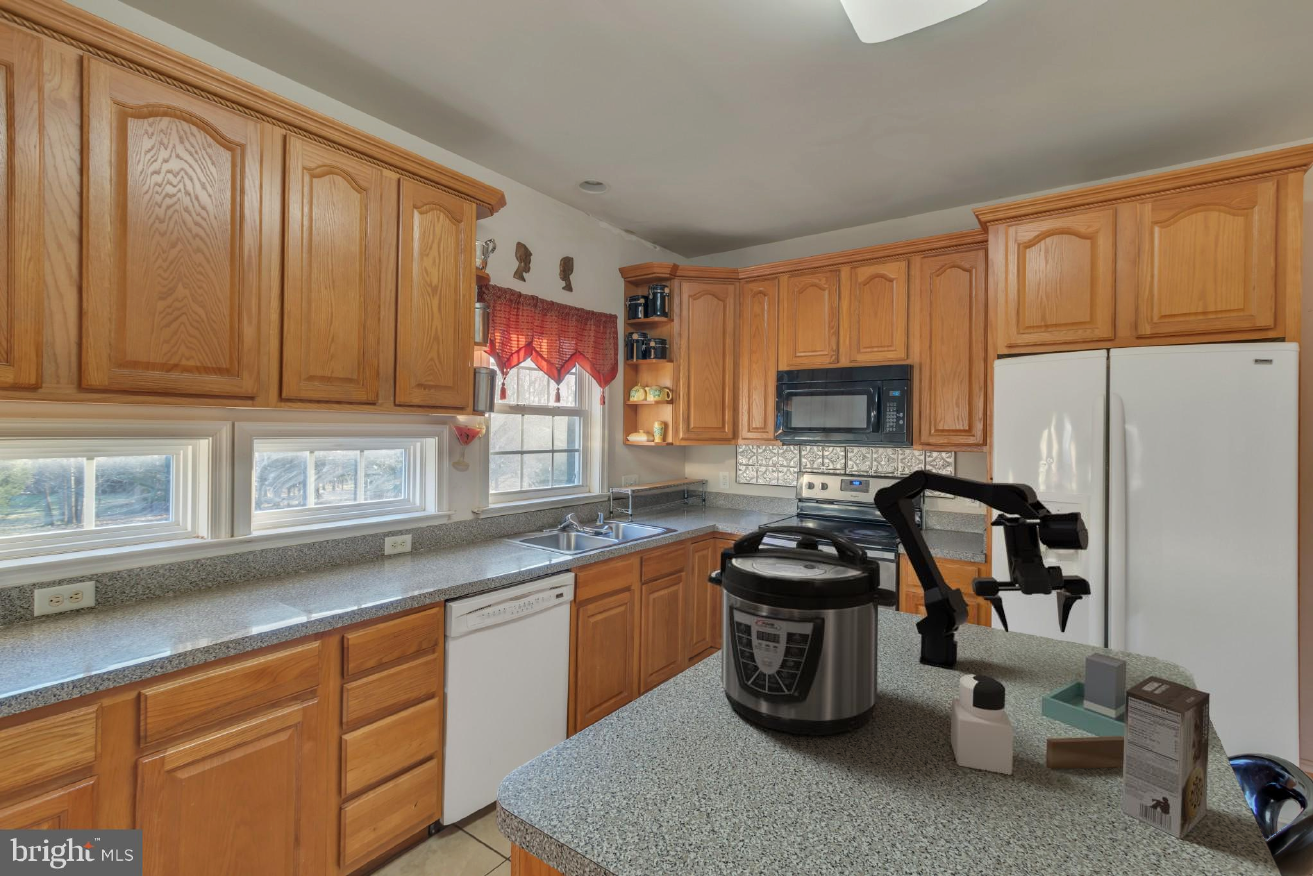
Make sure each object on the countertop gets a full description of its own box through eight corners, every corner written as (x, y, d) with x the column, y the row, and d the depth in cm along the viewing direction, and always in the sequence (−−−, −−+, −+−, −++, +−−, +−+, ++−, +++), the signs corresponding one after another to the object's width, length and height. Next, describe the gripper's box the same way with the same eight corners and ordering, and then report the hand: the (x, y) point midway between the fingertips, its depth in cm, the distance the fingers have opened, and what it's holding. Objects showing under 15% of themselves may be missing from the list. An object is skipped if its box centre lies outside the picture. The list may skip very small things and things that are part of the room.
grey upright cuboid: (1083, 715, 102) (1085, 657, 102) (1093, 708, 105) (1095, 652, 105) (1114, 726, 99) (1116, 666, 99) (1124, 719, 101) (1126, 661, 101)
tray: (1041, 714, 104) (1042, 696, 104) (1075, 695, 111) (1075, 679, 111) (1137, 750, 93) (1138, 730, 92) (1167, 726, 100) (1167, 708, 100)
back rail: (1046, 765, 88) (1046, 738, 88) (1120, 762, 89) (1121, 736, 89) (1051, 769, 87) (1052, 742, 87) (1126, 766, 88) (1127, 739, 88)
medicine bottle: (1001, 751, 92) (1003, 673, 91) (1012, 776, 85) (1015, 693, 85) (950, 742, 94) (952, 667, 94) (957, 766, 87) (959, 685, 87)
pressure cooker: (681, 686, 112) (685, 519, 112) (794, 660, 126) (798, 511, 125) (790, 767, 86) (796, 549, 85) (918, 722, 100) (923, 535, 99)
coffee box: (1146, 789, 82) (1150, 674, 82) (1208, 816, 77) (1212, 692, 77) (1118, 811, 77) (1123, 688, 77) (1182, 841, 72) (1187, 709, 72)
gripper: (975, 556, 110) (986, 642, 109) (1094, 552, 104) (1108, 643, 102) (967, 549, 121) (977, 628, 119) (1075, 545, 114) (1087, 628, 113)
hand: (1034, 631), depth 113 cm, fingers open, 9 cm apart
